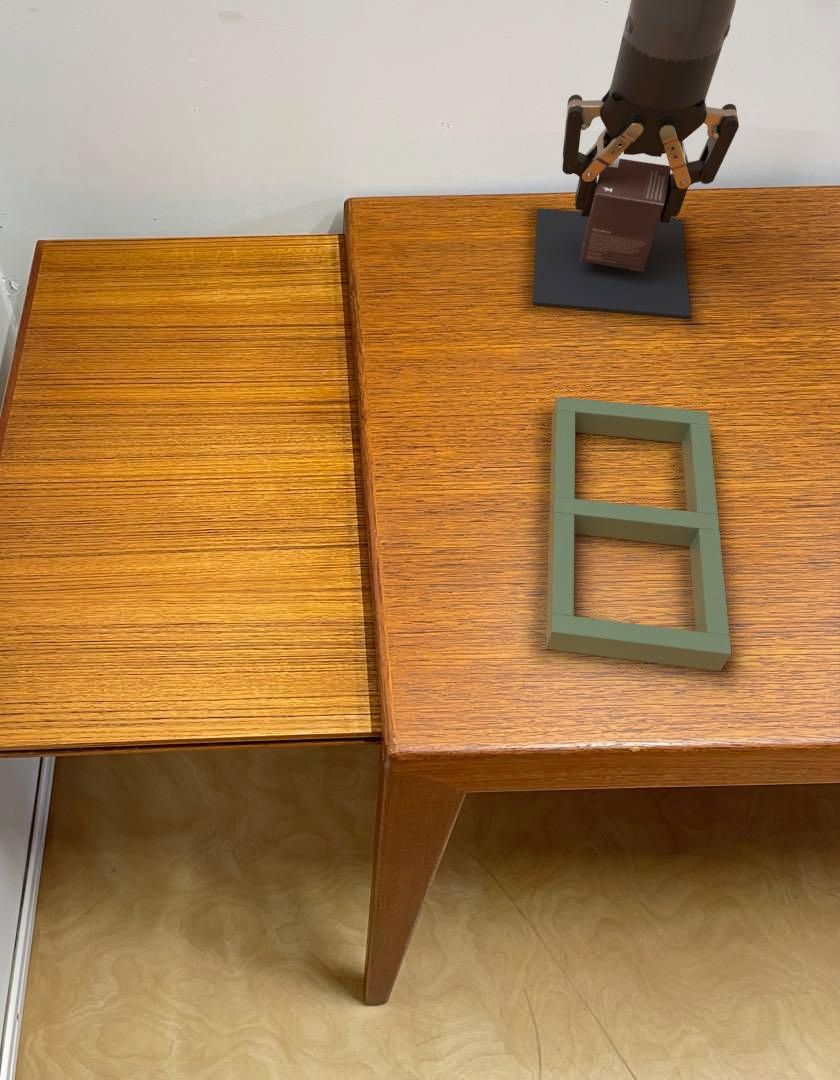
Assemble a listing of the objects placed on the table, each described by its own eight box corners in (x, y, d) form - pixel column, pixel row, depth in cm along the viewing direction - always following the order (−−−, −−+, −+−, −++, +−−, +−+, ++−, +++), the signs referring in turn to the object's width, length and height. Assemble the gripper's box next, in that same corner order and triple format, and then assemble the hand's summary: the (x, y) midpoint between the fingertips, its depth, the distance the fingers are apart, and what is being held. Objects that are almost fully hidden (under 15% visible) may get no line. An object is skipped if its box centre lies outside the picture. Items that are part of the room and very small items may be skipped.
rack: (551, 416, 83) (557, 396, 81) (699, 431, 82) (708, 411, 80) (545, 649, 70) (551, 631, 68) (720, 671, 69) (731, 654, 67)
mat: (680, 222, 98) (682, 219, 97) (689, 319, 90) (690, 315, 89) (537, 211, 99) (537, 208, 99) (532, 305, 91) (533, 301, 91)
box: (643, 274, 91) (664, 205, 85) (577, 262, 92) (593, 193, 86) (651, 234, 94) (673, 165, 88) (587, 222, 95) (604, 154, 89)
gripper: (766, 11, 78) (702, 195, 91) (579, 1, 79) (544, 183, 93) (777, 61, 73) (708, 247, 87) (579, 50, 75) (542, 234, 89)
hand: (623, 213), depth 90 cm, fingers closed on box, 6 cm apart
